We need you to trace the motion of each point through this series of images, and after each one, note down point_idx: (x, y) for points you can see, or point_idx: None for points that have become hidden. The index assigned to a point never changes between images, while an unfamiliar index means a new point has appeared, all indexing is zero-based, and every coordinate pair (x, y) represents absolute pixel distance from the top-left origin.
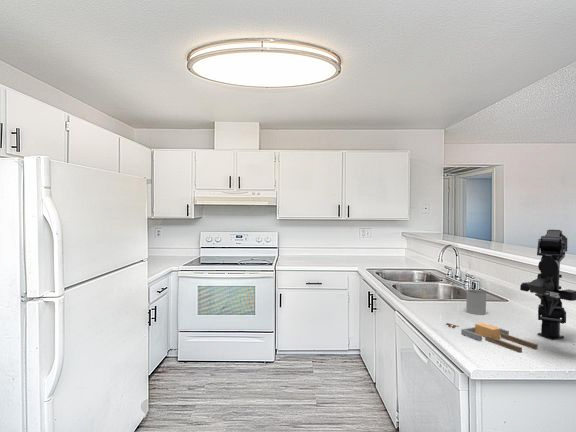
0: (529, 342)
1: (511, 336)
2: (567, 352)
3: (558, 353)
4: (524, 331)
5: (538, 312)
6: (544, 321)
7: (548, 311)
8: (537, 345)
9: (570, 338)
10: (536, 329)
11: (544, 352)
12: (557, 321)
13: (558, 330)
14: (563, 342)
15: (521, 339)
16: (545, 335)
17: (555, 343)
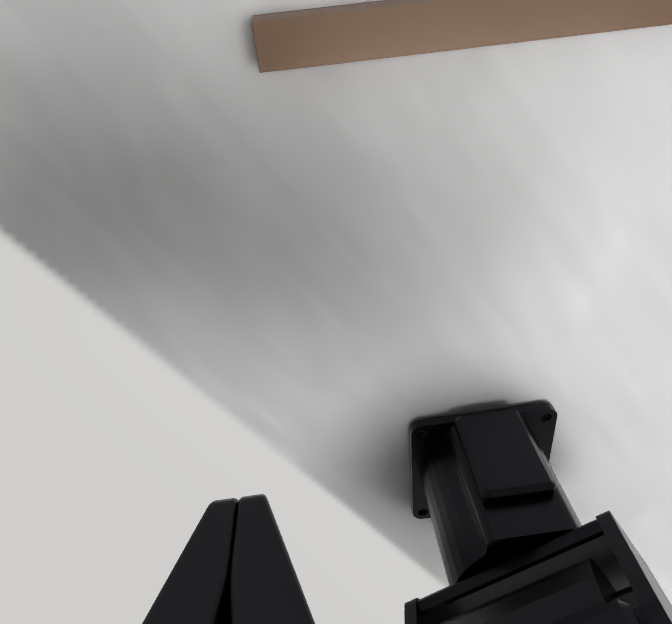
0: (358, 40)
1: (626, 7)
2: (109, 282)
3: (88, 171)
4: (664, 375)
5: (646, 587)
6: (547, 528)
7: (190, 574)
8: (260, 70)
9: (386, 532)
10: (629, 482)
11: (134, 32)
12: (452, 596)
13: (434, 526)
14: (338, 440)
15: (484, 39)
16: (478, 417)
17: (339, 372)
